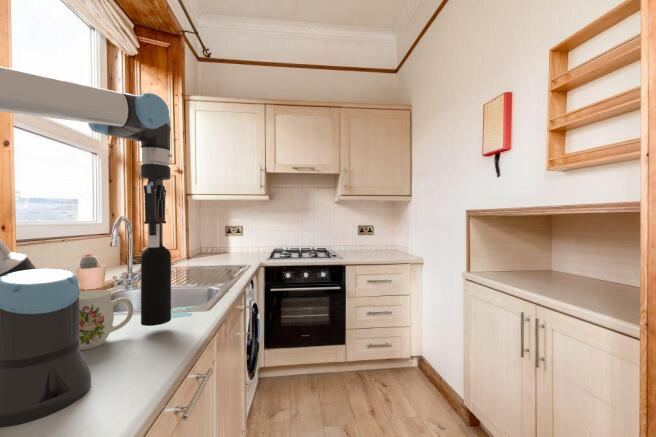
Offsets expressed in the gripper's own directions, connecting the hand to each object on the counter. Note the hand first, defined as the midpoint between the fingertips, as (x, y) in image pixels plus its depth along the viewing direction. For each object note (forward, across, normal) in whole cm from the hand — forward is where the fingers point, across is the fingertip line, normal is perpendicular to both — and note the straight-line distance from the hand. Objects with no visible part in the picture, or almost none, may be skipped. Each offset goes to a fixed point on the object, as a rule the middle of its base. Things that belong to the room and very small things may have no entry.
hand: (155, 246), depth 88 cm
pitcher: (+25, -4, +14) cm, 29 cm away
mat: (+25, +18, -5) cm, 31 cm away
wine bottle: (+22, 0, 0) cm, 22 cm away
